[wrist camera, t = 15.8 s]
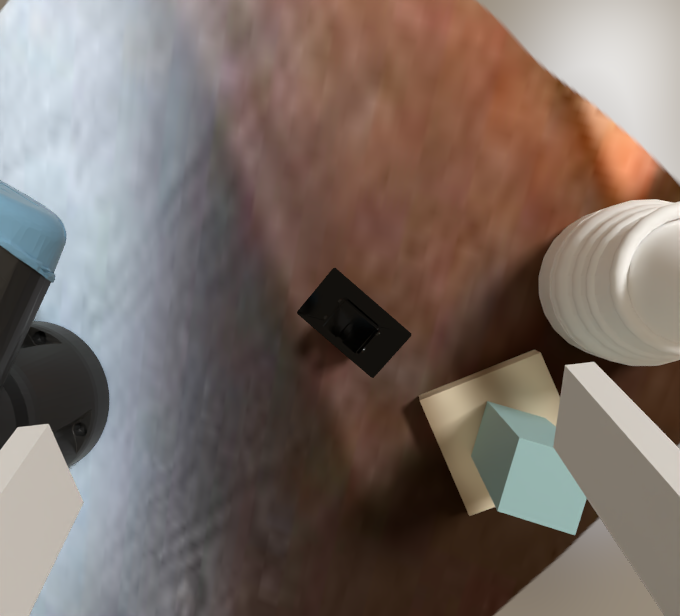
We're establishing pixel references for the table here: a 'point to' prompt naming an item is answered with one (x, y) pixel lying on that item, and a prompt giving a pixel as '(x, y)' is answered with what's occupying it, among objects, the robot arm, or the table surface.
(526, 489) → the pillar block
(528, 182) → the table surface
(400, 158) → the table surface
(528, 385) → the base slab
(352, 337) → the black boxy piece
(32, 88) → the table surface
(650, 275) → the honey pot
